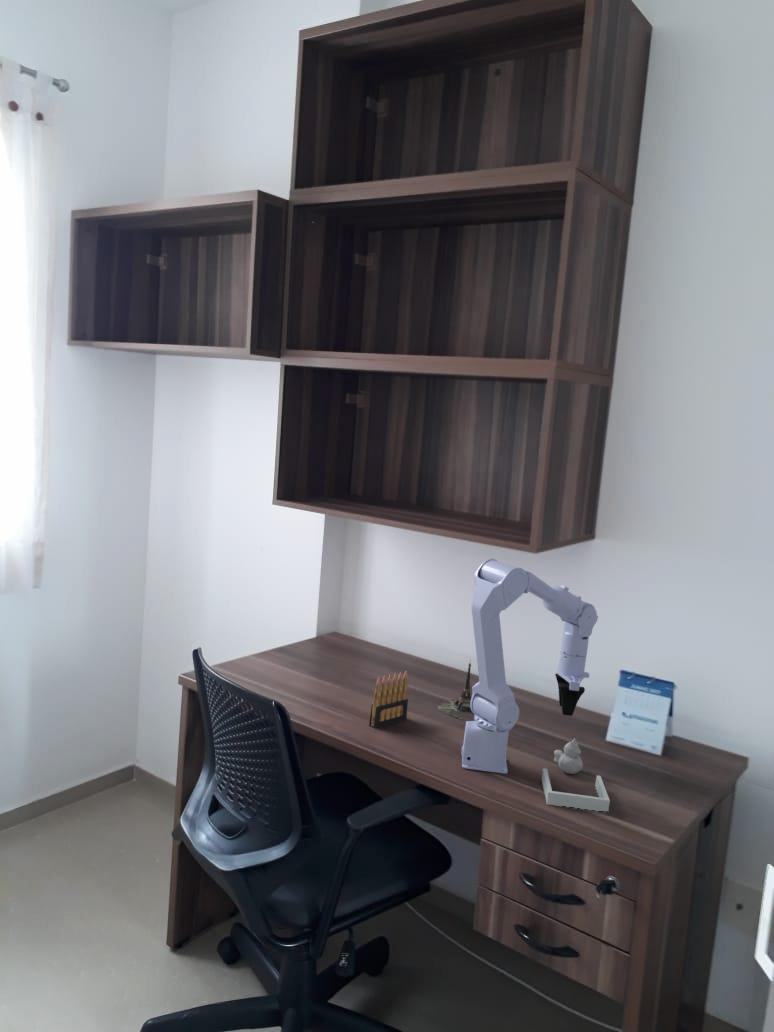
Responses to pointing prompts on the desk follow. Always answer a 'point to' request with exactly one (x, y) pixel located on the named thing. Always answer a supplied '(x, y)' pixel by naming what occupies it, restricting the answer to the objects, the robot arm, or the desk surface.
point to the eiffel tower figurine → (459, 700)
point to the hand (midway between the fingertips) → (565, 710)
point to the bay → (576, 796)
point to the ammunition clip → (389, 701)
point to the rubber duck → (569, 758)
